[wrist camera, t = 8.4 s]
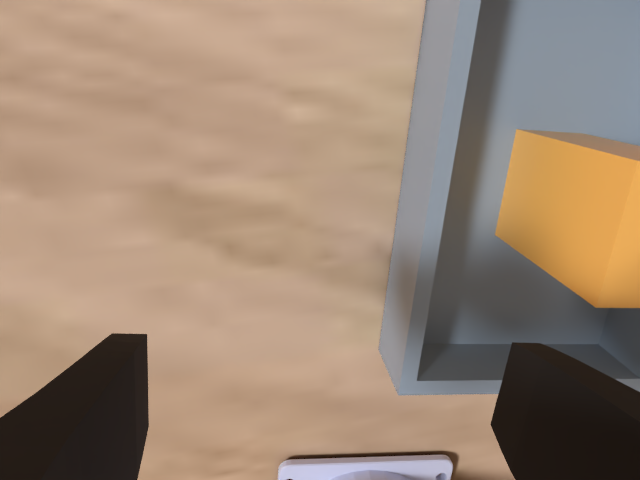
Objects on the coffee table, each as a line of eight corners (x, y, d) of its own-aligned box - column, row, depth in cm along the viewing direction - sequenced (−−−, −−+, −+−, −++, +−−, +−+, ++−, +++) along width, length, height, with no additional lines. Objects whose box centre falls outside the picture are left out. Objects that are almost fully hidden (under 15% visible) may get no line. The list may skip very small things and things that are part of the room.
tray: (599, 349, 22) (649, 391, 19) (378, 349, 21) (398, 395, 18) (716, -31, 17) (806, -48, 14) (435, -66, 16) (474, -94, 13)
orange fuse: (557, 236, 19) (680, 308, 14) (495, 234, 19) (595, 307, 13) (582, 133, 18) (730, 166, 12) (516, 129, 18) (638, 160, 12)
